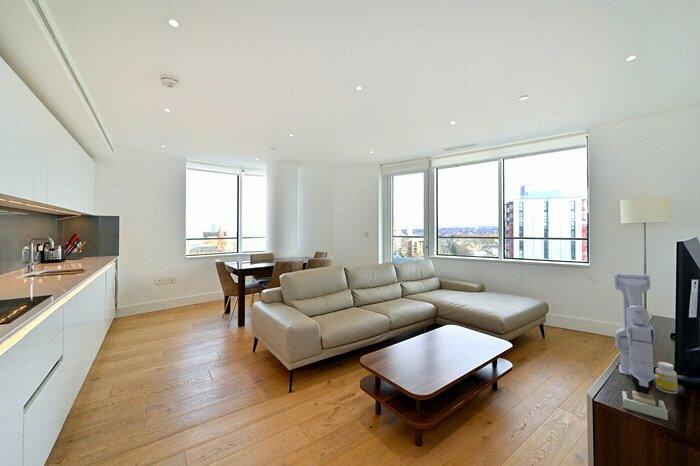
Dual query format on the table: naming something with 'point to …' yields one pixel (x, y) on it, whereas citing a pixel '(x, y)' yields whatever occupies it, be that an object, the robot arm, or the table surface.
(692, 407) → the table surface
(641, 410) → the dock
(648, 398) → the birch block
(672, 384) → the supplement bottle
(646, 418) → the table surface
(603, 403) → the table surface
